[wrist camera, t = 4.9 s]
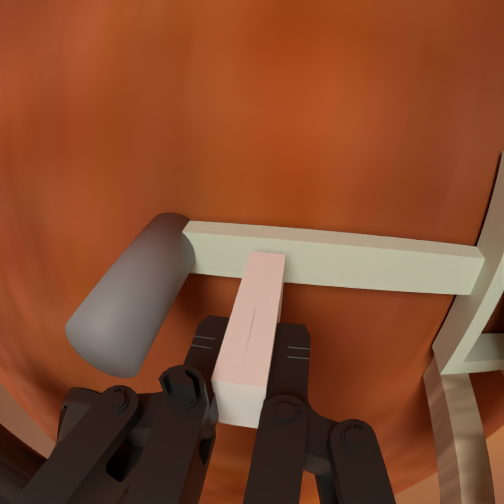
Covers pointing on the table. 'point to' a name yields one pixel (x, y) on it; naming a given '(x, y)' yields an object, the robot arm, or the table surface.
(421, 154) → the table surface
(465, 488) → the bridge
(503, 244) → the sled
